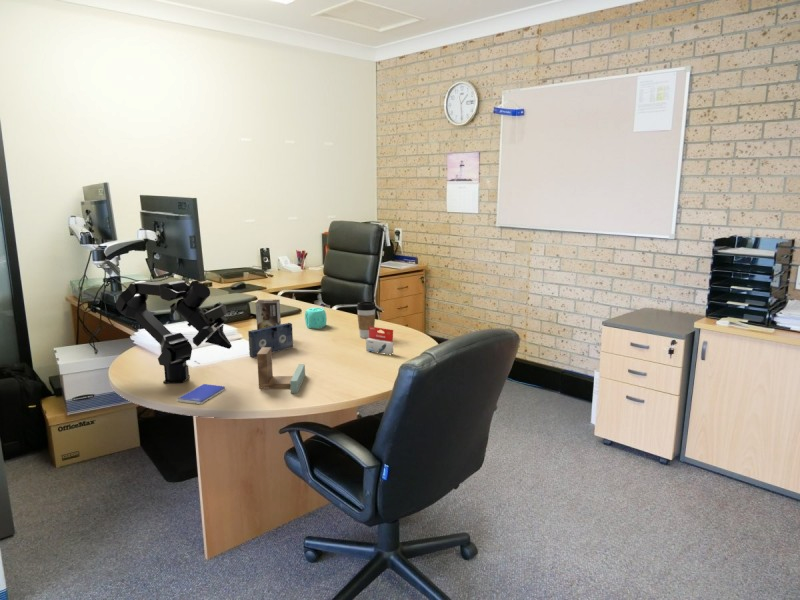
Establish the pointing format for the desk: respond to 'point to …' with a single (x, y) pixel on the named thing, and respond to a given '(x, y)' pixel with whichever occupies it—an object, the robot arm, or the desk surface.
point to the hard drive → (201, 394)
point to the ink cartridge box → (380, 340)
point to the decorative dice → (315, 318)
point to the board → (297, 378)
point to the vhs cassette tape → (271, 338)
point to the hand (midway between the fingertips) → (230, 347)
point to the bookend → (269, 371)
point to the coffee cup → (365, 317)
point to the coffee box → (267, 313)
